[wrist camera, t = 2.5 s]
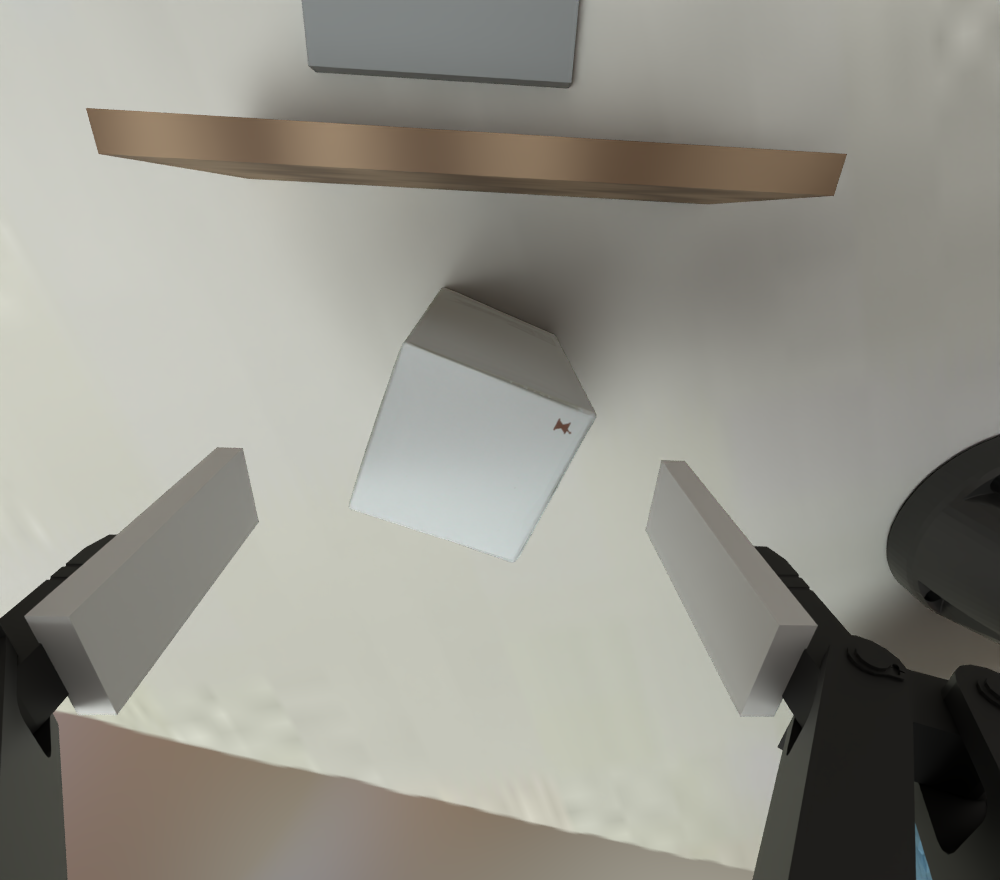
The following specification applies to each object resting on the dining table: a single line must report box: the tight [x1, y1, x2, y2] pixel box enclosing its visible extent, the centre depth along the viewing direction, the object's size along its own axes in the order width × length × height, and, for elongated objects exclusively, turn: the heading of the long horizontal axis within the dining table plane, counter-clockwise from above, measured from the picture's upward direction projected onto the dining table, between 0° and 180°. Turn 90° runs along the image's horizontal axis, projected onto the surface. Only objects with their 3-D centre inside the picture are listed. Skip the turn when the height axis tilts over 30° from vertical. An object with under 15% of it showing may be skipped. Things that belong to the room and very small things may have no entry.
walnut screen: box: [86, 108, 847, 204], centre depth 19 cm, size 24×1×10 cm, turn 87°
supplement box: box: [349, 288, 596, 562], centre depth 23 cm, size 7×7×13 cm
